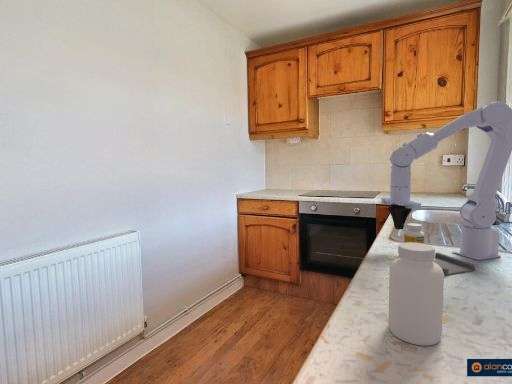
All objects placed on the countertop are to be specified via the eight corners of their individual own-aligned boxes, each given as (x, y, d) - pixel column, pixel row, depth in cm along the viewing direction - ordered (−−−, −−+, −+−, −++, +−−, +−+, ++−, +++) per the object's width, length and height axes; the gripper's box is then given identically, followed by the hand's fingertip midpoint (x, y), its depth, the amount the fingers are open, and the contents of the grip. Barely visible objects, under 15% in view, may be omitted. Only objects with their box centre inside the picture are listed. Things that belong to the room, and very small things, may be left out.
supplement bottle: (409, 251, 94) (410, 221, 93) (427, 256, 90) (428, 224, 89) (399, 255, 91) (400, 224, 90) (417, 259, 87) (418, 227, 86)
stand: (437, 257, 88) (437, 252, 88) (474, 270, 78) (475, 264, 78) (410, 261, 85) (410, 256, 85) (445, 275, 75) (445, 269, 75)
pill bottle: (379, 321, 54) (381, 240, 53) (421, 319, 55) (424, 239, 53) (404, 349, 46) (408, 254, 45) (453, 345, 47) (458, 252, 45)
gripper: (374, 185, 100) (373, 225, 101) (408, 189, 86) (406, 235, 87) (391, 184, 102) (390, 223, 103) (427, 187, 88) (425, 233, 90)
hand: (398, 228), depth 95 cm, fingers closed
